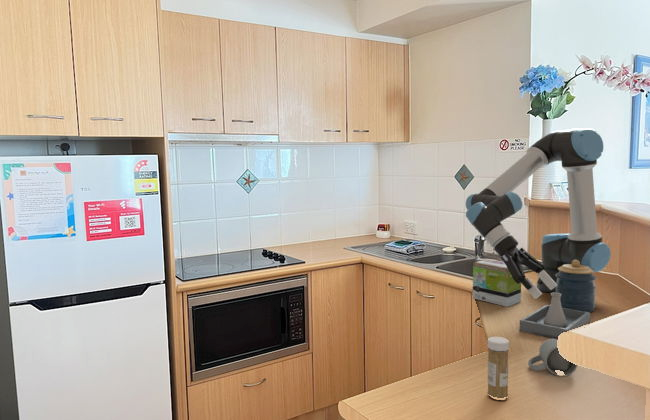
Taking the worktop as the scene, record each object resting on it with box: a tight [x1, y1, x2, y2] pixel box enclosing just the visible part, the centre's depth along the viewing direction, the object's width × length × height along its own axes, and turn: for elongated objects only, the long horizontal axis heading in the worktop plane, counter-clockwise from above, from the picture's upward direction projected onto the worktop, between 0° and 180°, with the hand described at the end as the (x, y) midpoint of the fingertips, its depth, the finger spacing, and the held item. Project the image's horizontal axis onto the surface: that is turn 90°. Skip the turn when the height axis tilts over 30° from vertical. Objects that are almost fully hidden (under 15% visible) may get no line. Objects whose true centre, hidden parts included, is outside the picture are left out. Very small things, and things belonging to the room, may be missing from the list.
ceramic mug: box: [527, 338, 579, 376], centre depth 125 cm, size 11×8×8 cm
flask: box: [544, 292, 567, 328], centre depth 156 cm, size 7×7×10 cm
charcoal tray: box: [519, 304, 591, 339], centre depth 157 cm, size 22×14×4 cm, turn 136°
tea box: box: [472, 258, 523, 308], centre depth 187 cm, size 15×10×15 cm, turn 40°
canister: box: [555, 260, 597, 314], centre depth 175 cm, size 13×13×18 cm
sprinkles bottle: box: [487, 336, 510, 398], centre depth 110 cm, size 5×5×14 cm
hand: (546, 292), depth 157 cm, fingers open, 13 cm apart
